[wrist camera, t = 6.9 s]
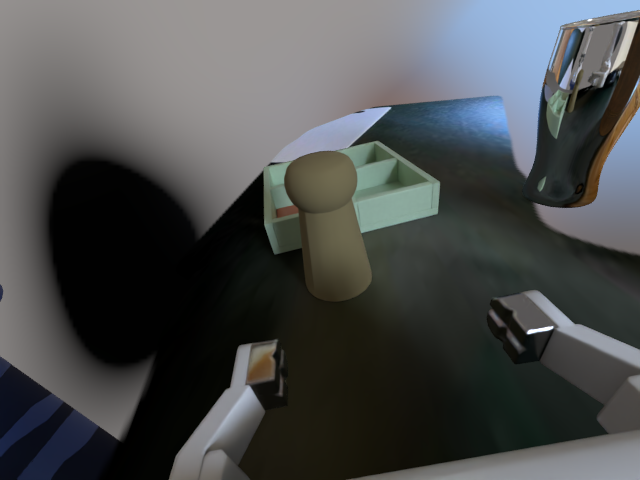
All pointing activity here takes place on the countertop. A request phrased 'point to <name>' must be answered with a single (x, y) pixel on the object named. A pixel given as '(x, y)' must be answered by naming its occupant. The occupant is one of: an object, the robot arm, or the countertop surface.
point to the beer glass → (584, 107)
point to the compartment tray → (356, 195)
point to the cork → (329, 225)
